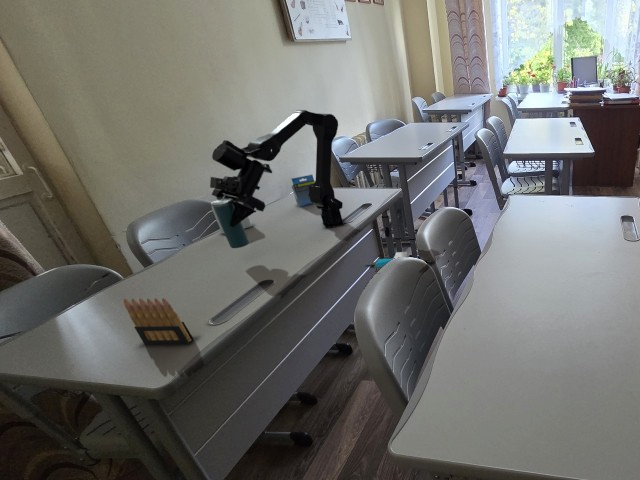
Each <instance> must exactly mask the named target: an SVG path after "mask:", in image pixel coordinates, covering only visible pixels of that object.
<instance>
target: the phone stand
mask: <svg viewBox="0 0 640 480" xmlns="http://www.w3.org/2000/svg"><path fill="white" fill-rule="evenodd" d="M408 254H409V252H408V251H398V252H395V255H394V256H393V258H378V260H377V261H370V262H365V263H364V264H363V265H364V267H365V268H366V267H368V269H375V271H374V274H378V273H377V272H378V271H379V270H380V269H381V268H382V267H383V266H384V265H386V264H387V263H388V262H389V261H391V260H392V259H394V258H398V257H406V258H408V256H409V255H408ZM414 257H415V256H414ZM415 258H418V259H419V257H415ZM427 262H428V264H432V260H430V261H427Z"/></svg>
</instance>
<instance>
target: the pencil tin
mask: <svg viewBox="0 0 640 480" xmlns="http://www.w3.org/2000/svg"><path fill="white" fill-rule="evenodd" d="M210 206H211V208H212V207H213V208H214V210H215V213H216V215H217V217H218V219H219V222H220V224H221V226H222V229H223V231H224V233H225V234H224V235H225V238H226V240H227V243H228V245H229V247H230V248H231V249H239V248H243V247H246V246H248V245H249V244H250V240H249V238H248V236H247V233H246V230H245V229H244V228H243V226H242V223H241V222H240V223H239V224H237V225H236V226H235V227H231V226H230V221H231V218H232V215H233V212H234V209H235V207H234V205H233V199H229V198H228V199H220V200H217V199H216V200H214V201H212V202H211V203H210Z"/></svg>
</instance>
